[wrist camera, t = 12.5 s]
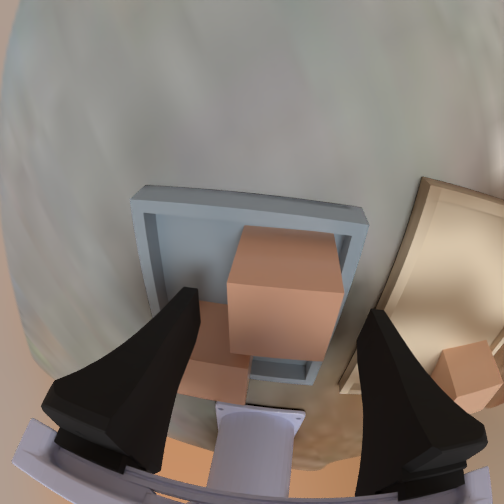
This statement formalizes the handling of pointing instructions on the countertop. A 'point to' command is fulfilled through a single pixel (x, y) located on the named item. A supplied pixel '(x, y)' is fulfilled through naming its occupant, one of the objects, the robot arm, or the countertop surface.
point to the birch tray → (445, 276)
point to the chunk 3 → (468, 375)
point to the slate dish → (231, 248)
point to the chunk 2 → (284, 293)
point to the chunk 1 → (216, 361)
